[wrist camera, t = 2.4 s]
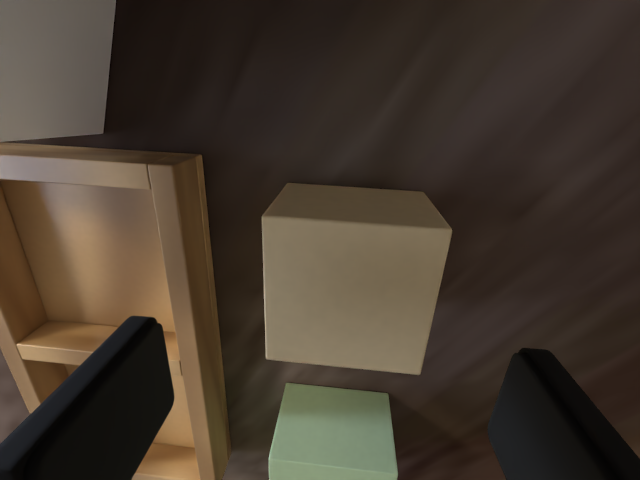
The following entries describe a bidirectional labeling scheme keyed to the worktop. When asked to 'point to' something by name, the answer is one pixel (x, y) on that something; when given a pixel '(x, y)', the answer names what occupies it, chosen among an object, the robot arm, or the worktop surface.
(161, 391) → the robot arm
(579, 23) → the worktop surface
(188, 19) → the worktop surface
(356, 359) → the tan block
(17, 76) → the milk
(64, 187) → the divided wooden tray
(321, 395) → the green block
